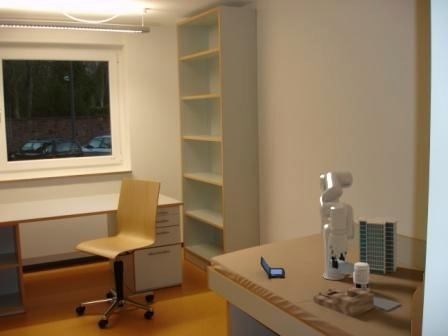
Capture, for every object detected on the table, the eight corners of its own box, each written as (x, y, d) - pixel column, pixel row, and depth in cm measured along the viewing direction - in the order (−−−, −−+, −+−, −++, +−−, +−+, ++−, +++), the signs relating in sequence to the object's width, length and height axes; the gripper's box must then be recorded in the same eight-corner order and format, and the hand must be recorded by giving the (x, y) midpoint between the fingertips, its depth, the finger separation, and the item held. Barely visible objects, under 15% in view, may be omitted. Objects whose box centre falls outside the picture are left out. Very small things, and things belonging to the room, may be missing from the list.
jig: (313, 302, 243) (313, 288, 242) (334, 294, 252) (334, 281, 252) (352, 317, 224) (352, 302, 223) (373, 307, 233) (373, 293, 232)
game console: (284, 278, 280) (283, 263, 278) (260, 278, 281) (260, 263, 280) (283, 269, 295) (283, 255, 294) (261, 270, 296) (261, 255, 295)
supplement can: (350, 290, 256) (350, 263, 255) (362, 287, 260) (362, 260, 258) (360, 295, 249) (360, 267, 247) (372, 292, 252) (372, 264, 251)
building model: (357, 271, 285) (357, 222, 282) (362, 263, 300) (361, 216, 297) (393, 275, 277) (393, 224, 273) (396, 266, 292) (396, 218, 288)
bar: (329, 268, 240) (329, 260, 240) (335, 265, 243) (335, 258, 243) (348, 274, 231) (348, 266, 230) (354, 272, 234) (354, 264, 233)
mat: (369, 295, 249) (369, 293, 249) (400, 305, 235) (400, 303, 235) (356, 300, 243) (356, 299, 242) (387, 311, 228) (387, 310, 228)
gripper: (343, 226, 244) (343, 261, 246) (320, 232, 234) (321, 268, 236) (355, 229, 238) (355, 264, 240) (332, 235, 228) (333, 272, 230)
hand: (338, 266), depth 238 cm, fingers closed on bar, 4 cm apart
